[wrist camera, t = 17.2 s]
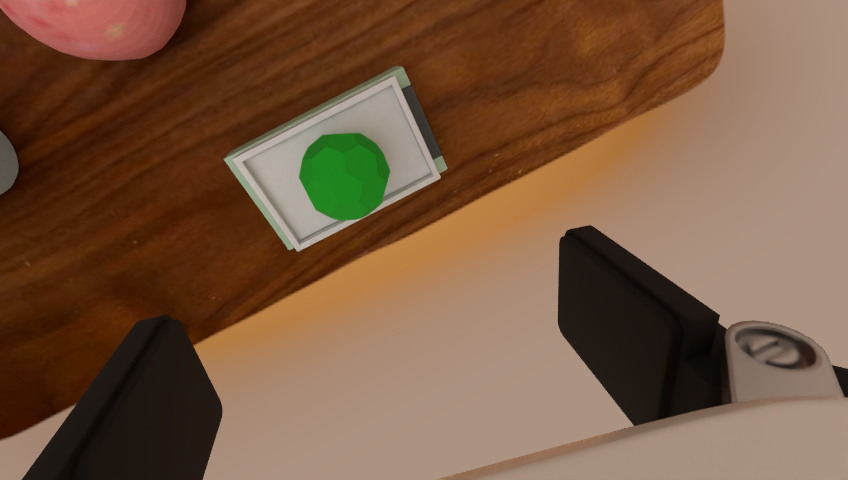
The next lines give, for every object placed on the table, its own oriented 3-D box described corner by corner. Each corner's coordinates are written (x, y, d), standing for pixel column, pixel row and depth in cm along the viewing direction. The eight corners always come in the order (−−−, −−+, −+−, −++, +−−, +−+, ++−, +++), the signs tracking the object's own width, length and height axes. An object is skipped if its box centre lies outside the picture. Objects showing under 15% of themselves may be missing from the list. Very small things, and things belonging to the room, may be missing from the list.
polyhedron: (395, 187, 26) (408, 213, 22) (324, 215, 26) (323, 247, 22) (365, 111, 24) (373, 125, 20) (287, 142, 24) (279, 162, 20)
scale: (397, 65, 26) (406, 66, 23) (439, 160, 29) (452, 174, 26) (231, 150, 26) (217, 164, 23) (291, 236, 30) (287, 259, 26)
